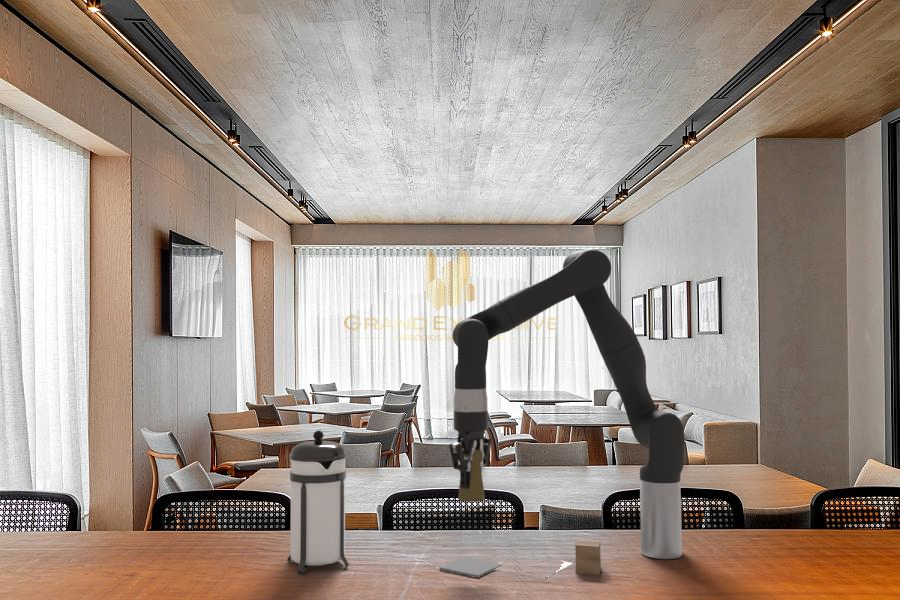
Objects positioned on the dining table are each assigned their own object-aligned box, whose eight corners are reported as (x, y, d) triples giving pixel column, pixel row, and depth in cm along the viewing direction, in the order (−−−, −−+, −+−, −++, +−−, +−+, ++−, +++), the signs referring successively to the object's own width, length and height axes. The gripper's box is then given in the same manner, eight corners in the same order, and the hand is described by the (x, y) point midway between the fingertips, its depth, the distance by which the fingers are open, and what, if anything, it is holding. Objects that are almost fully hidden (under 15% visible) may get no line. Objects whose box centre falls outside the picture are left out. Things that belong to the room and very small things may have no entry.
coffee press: (366, 559, 175) (366, 428, 177) (326, 579, 161) (327, 436, 163) (303, 551, 183) (304, 424, 184) (260, 569, 168) (261, 432, 170)
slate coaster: (464, 559, 175) (464, 556, 175) (502, 566, 170) (502, 563, 170) (439, 570, 167) (439, 567, 167) (478, 578, 161) (478, 575, 161)
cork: (482, 501, 166) (482, 450, 166) (455, 500, 167) (455, 450, 167) (486, 496, 172) (486, 446, 172) (460, 495, 173) (460, 446, 173)
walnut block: (577, 566, 170) (577, 539, 170) (600, 568, 168) (600, 540, 169) (575, 573, 165) (575, 545, 165) (599, 575, 164) (598, 546, 164)
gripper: (467, 412, 162) (467, 494, 161) (501, 407, 174) (502, 483, 173) (438, 410, 166) (438, 490, 166) (473, 405, 178) (474, 480, 177)
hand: (471, 486), depth 169 cm, fingers closed on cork, 4 cm apart
